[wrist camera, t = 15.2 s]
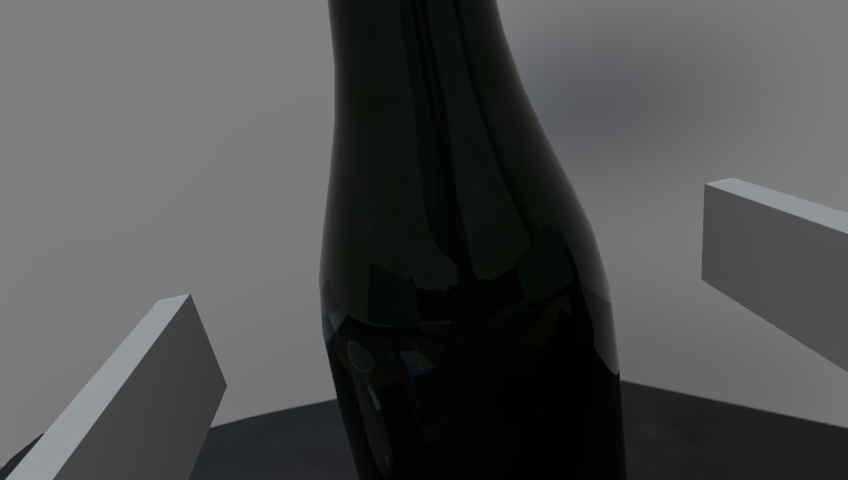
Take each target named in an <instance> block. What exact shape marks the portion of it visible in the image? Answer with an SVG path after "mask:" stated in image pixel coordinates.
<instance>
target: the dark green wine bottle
mask: <svg viewBox="0 0 848 480" xmlns="http://www.w3.org/2000/svg"><path fill="white" fill-rule="evenodd" d="M328 8H329V18H330V26H331V36H332V46H333V55H334V65H335V122H334V133H333V144H332V156H331V166H330V177H329V185H328V193H327V202H326V211H325V218H324V227H323V238H322V248H321V259H320V272H319V285H320V300H321V315H322V329H323V337H324V341H325V346H326V350H327V355H328V359H329V364H330V368H331V372H332V377H333V381H334V386H335V390H336V395H337V399H338V404H339V408H340V411H341V415H342V419H343V422H344V426H345V429H346V433H347V437H348V440H349V444H350V448H351V451H352V455H353V459H354V462H355V466H356V469H357V473H358V477H359V480H627V472H626V457H625V442H624V428H623V413H622V399H621V385H620V371H619V360H618V353H617V345H616V336H615V328H614V319H613V312H612V303H611V295H610V288H609V285H608V281H607V278H606V274H605V271H604V267H603V264H602V260H601V257H600V253H599V250H598V247H597V243H596V239H595V235H594V232H593V229H592V226H591V223H590V221H589V219H588V217H587V215H586V213H585V211H584V208H583V206H582V204H581V202H580V200H579V198H578V197H577V194H576V192H575V190H574V187H573V185H572V183H571V181H570V179H569V177H568V175H567V173H566V172H565V170H564V168H563V166H562V164H561V162H560V160H559V158H558V156H557V154H556V152H555V150H554V148H553V146H552V144H551V142H550V140H549V138H548V136H547V134H546V132H545V130H544V128H543V126H542V124H541V121H540V119H539V117H538V115H537V113H536V111H535V109H534V107H533V105H532V102H531V100H530V98H529V96H528V94H527V92H526V90H525V87H524V85H523V83H522V80H521V77H520V75H519V72H518V69H517V66H516V64H515V61H514V58H513V55H512V52H511V50H510V47H509V44H508V41H507V39H506V36H505V33H504V29H503V25H502V21H501V17H500V13H499V9H498V5H497V1H496V0H328Z"/></svg>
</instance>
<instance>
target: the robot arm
mask: <svg viewBox="0 0 848 480" xmlns="http://www.w3.org/2000/svg"><path fill="white" fill-rule="evenodd" d="M702 280H703V281H705V282H707V283H708V284H710V285H711V286H713V287H714V288H716V289H717V290H719V291H721V292H722V293H724V294H725V295H727V296H729V297H730V298H732V299H733V300H735V301H736V302H738V303H740V304H741V305H743V306H744V307H746V308H748V309H749V310H751V311H752V312H754V313H755V314H757V315H759V316H760V317H762V318H763V319H765V320H766V321H768V322H770V323H771V324H773V325H775V326H776V327H777V328H779V329H781V330H782V331H784V332H785V333H787V334H788V335H790V336H792V337H793V338H795V339H797V340H798V341H800V342H801V343H803V344H804V345H806V346H807V347H809V348H811V349H812V350H814V351H815V352H817V353H818V354H820V355H822V356H823V357H825V358H826V359H828V360H830V361H831V362H833V363H834V364H836V365H837V366H839V367H841V368H842V369H844V370H845V371H847V372H848V213H847V212H843V211H840V210H837V209H834V208H830V207H827V206H823V205H820V204H817V203H814V202H811V201H808V200H804V199H801V198H798V197H794V196H791V195H788V194H785V193H781V192H778V191H775V190H771V189H768V188H765V187H762V186H759V185H755V184H752V183H749V182H745V181H742V180H739V179H736V178H729V179H724V180H720V181H715V182H711V183H706V184H705V188H704V220H703V249H702ZM226 387H227V385H226V382H225V380H224V377H223V375H222V372H221V370H220V367H219V365H218V362H217V359H216V357H215V354H214V352H213V349H212V347H211V345H210V342H209V339H208V337H207V334H206V332H205V329H204V327H203V324H202V322H201V319H200V317H199V314H198V312H197V309H196V307H195V304H194V302H193V299H192V297H191V294H186V295H182V296H176V297H172V298H167V299H163V300H158V301H157V303H156V304H155V305H154V306H153V307H152V308H151V310H150V311H149V312H148V313H147V314H146V315H145V317H144V318H143V319H142V320H141V321H140V322H139V324H138V325H137V326H136V327H135V329H133V331H132V332H131V333H130V334H129V335H128V337H127V338H126V339H125V340H124V341H123V342H122V344H121V345H120V346H119V347H118V348H117V349H116V351H115V352H114V353H113V354H112V355H111V356H110V358H109V359H108V360H107V361H106V362H105V364H104V365H103V366H102V367H101V368H100V370H99V371H98V372H97V373H96V374H95V375H94V376H93V378H92V379H91V380H90V381H89V382H88V383H87V385H86V386H85V387H84V388H83V389H82V390H81V392H80V393H79V394H78V395H77V396H76V398H75V399H74V400H73V401H72V402H71V403H70V405H69V406H68V407H67V408H66V409H65V411H64V412H63V413H62V414H61V415H60V416H59V417H58V419H57V420H56V421H55V422H54V423H53V425H52V426H51V427H50V428H49V429H48V430H47V431H46V433H44V434H42V435H40V436H39V437H38V438H37V439H35V440H34V441H33V442H31V443H30V444H29V445H28V446H26V447H25V448H24V449H22V450H21V451H20V452H19V453H17V454H16V455H15V456H14V457H12V458H11V459H10V460H9V462H8V463H7V464H6V465H5V466H4V467H3V468H2V469H1V471H0V480H188V479H189V477H190V474H191V472H192V469H193V467H194V464H195V462H196V460H197V457H198V455H199V452H200V450H201V448H202V445H203V443H204V440H205V438H206V435H207V433H208V431H209V428H210V426H211V423H212V421H213V419H214V416H215V414H216V411H217V409H218V406H219V404H220V402H221V399H222V397H223V394H224V392H225V390H226Z"/></svg>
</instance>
